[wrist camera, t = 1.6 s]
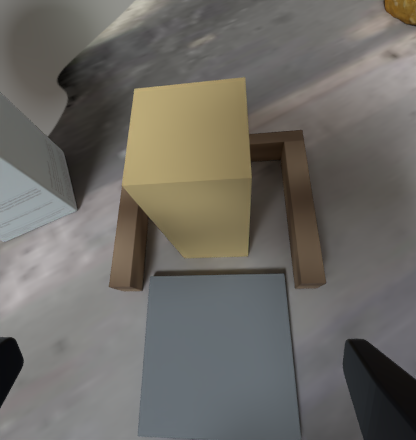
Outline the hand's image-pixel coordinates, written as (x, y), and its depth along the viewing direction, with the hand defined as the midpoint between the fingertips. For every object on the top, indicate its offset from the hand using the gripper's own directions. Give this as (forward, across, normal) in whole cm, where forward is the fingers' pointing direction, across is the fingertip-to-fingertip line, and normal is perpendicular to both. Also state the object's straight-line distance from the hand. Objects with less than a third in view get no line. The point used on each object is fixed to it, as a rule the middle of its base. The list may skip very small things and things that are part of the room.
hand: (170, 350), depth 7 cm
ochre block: (+15, 0, +3) cm, 15 cm away
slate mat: (+9, 0, +9) cm, 13 cm away
